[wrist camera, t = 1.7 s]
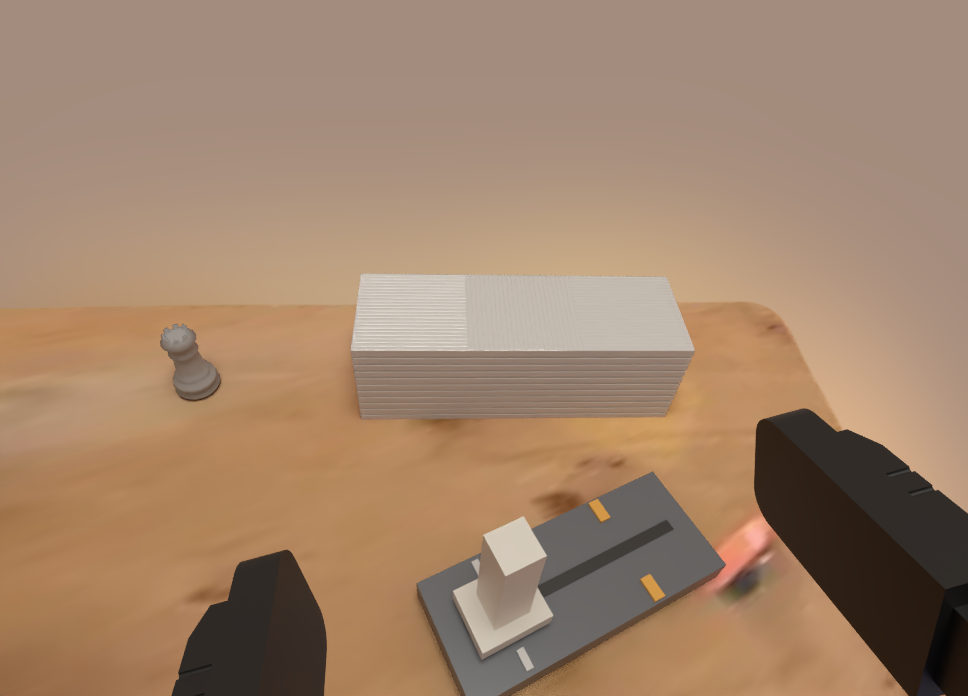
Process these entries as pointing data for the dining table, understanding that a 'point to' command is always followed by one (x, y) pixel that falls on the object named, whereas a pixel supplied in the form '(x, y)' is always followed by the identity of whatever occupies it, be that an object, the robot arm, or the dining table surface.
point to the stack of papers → (517, 346)
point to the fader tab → (505, 590)
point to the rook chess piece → (189, 364)
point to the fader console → (580, 585)
